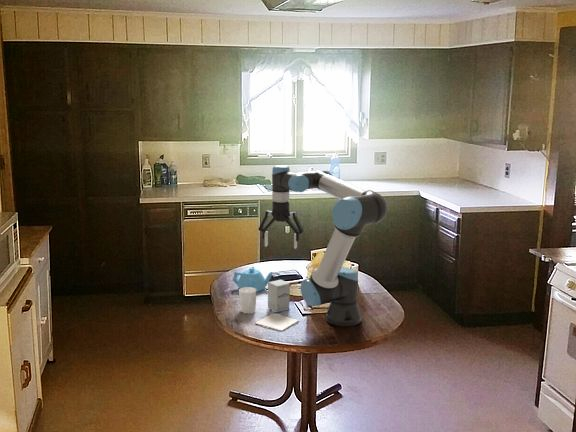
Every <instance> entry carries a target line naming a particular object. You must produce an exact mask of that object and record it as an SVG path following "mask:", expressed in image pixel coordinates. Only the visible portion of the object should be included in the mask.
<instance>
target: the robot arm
mask: <svg viewBox="0 0 576 432" xmlns="http://www.w3.org/2000/svg"><path fill="white" fill-rule="evenodd" d="M271 179H272V180H271V183H272V185H271V187H272V188H271V189H272V191H271V192H272V193H271V194H272V196H271V199H272V202H271V203H272V204H271V205H272V206H271V207H272V208H271V209H272V210H269V209H267V210H266V211H264V213H265V214H264V217H263V218H262V220H261V222H260V225H259V227H258V231H259V232H262V239H263V240H264V247H265V248H267V247H268V246H269V231H268V229H269V228H270V227H271V226H272V224H273V223H274V222H281V223H282V222H283V223H284V222H285V223H286V224H287V225H288V226H289V227H290V228H291V229H292V232H294V235H293V249H295V250H296V249H297V248H298V242H299V241H300V234H303V232H304V231H305V230H304V227H302V225H301V222H300V220H299V218H298V215H297V214H298V213H297V211H292V212H291V211H290V201H289V200H290V191H291V192H295V193H304V192H305V191H306V190H313V189H317V190H319V191H321V192H324V193H326V194H329V195H330V196H332V197H333V198H336V199H338V200H337V201H336V202H335V203H334V205H333V207H332V209H331V216H332V217H331V219H332V222H333V227H334V231H333V233H332V235H331V237H330V240H329V242H328V244H327V247H326V249H325V252H324V253H323V255H322V258H321V260H320V263H319V264H318V267H317V268H314V269H313V270H312V271H311V274H310V277H309V278H305V279H303V280H302V281H301V283H300V293H301V296H302V298H303V300H304V302H305V304H307V305H308V306H309V307H320V306H321V305H326V304H328V303H329V306H328V309H327V311H326V314H325V320H326V322H327V323H329V324H330V325H333V326H336V327H337V326H338V327H353V326H356V325H359V324H360V323H362V315H361V312H360V308H359V307H360V306H359V305H358V292H359V274H358V273H359V272H357V270H355V269H352V268H348V267H344V266H343V265H344V263H345V261H346V258H347V257H348V254H349V253H350V251H351V248H352V246H353V244H354V242H355V239H356V238H358V237H360V236H361V235H362V234H363V232H364V230H365V228H366V226H371V225H376V224H378V223H380V222H381V221H383V220H384V218H385V217H386V216H387V213H388V203H387V200H386V199H385V197H383V195H381V194H379V193H378V192H375V191H373V190H372V189H371V190H370V189H367V190H364V189H363V188H361V187H358V186H356V185H353V184H351V183H349V182H346V181H345V180H342V179H339V178H337V177H336V176H333V175H332V173H331V172H330V171H329V170H327V169H317V170H312V171H303V172H291V170H290V167H289V165H283V164H281V165H279V164H278V165H274V166H273V167H272V174H271ZM270 216H272V218H271V220H270V221H269V222H268V223H267V225H265V224H266V222H267V221H268V218H269V217H270ZM290 217H291V218H292V220H293V221H294V223H295V224H294V223H293V221H292V220H291V218H290Z"/></svg>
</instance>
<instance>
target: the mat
mask: <svg viewBox="0 0 576 432" xmlns="http://www.w3.org/2000/svg"><path fill="white" fill-rule="evenodd" d="M299 322H300V320H299V319H296V318H295V319H294V318H291V317H287V316H285V315H280V314H275V313H270V314H269V315H267V316H265V317H264V318H261V319H260V320H258V321H256V322H255V323H254V325H256V324H258V325H257V326H260V325H261V326H260V327H263V326H265V327H264V328H267V327H268V328H267V329H271V330H275V331H278V332H282V333H283V332H284V331H285V330H287V329H289V328H291V327H292V326H294V325H296V324H298V323H299Z"/></svg>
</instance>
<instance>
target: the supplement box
mask: <svg viewBox="0 0 576 432" xmlns="http://www.w3.org/2000/svg"><path fill="white" fill-rule="evenodd" d="M290 285H291V284H290V282H288V281H285V280H283V279H277V280H272V281H269V282H268V284H267V309H269V310H271V311H272V312H275V313H279V312H283V311H288V310H290V288H291V287H290Z"/></svg>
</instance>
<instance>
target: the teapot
mask: <svg viewBox="0 0 576 432" xmlns="http://www.w3.org/2000/svg"><path fill="white" fill-rule="evenodd" d="M272 275H273V273H272V272H269V273H268V275H266V277H264V275H263V273H262V272H261V271H260V270H258V269H255V267H254V266H251V267H249V268H248V269H245V270H244V271H243V272H241V271H237V270H235V272H234V275H233V277H232V280H231V281H232V282H233V283H234V284H235V285H236V286H237V288H238V290H239V289H241V288H244V287H252V288H255V289H256V293H261V292H262V291H264V289H265V288H266V287H268V282H270V281H271V277H272ZM238 276H239V278H238Z"/></svg>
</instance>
